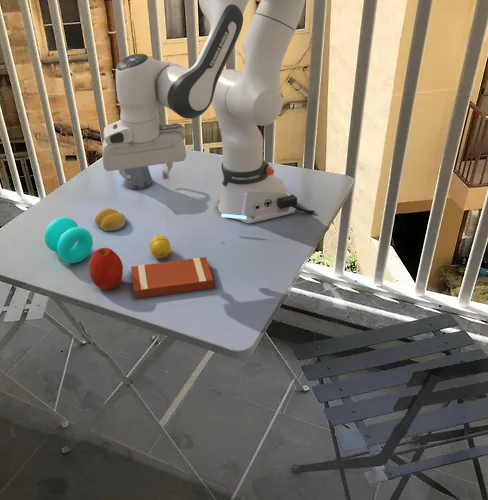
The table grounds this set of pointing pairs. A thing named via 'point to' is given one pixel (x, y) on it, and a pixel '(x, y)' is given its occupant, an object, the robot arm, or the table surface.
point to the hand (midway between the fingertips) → (147, 180)
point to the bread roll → (110, 220)
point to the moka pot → (138, 177)
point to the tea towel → (171, 277)
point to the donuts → (68, 240)
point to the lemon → (160, 246)
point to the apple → (106, 269)
